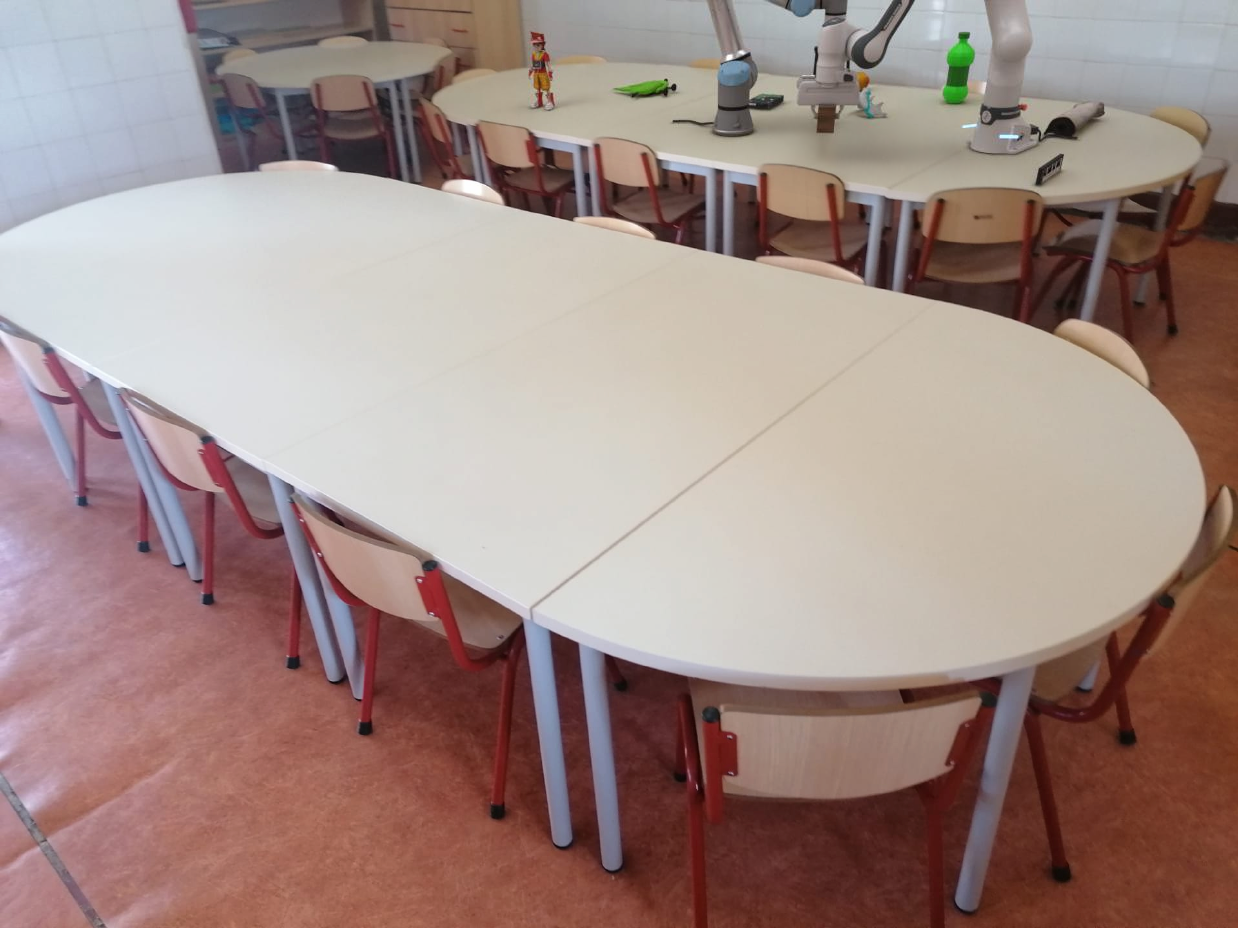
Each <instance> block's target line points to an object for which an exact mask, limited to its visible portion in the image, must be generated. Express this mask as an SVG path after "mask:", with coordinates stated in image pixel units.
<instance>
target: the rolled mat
mask: <svg viewBox="0 0 1238 928" xmlns="http://www.w3.org/2000/svg"><path fill="white" fill-rule="evenodd" d="M1105 113H1106V112H1105V104H1104V102H1102V101H1096V100H1091V101H1085V102H1079V103H1076V104H1074V105H1073V107H1072V108H1071V109H1069V110H1067V111H1065V112H1063V113H1061V114H1060V115H1058V116H1056V117H1054V118H1053V119H1051V120H1050V122H1049V123H1048V125H1047V127H1046V129H1045V130H1044V132H1043V136H1046V135H1049V134H1056V135H1062V136H1073V137H1074V135H1076V134H1077V132H1078V131H1079V130H1080V129H1081V128H1082V127H1083V126H1084V125H1086V124H1087V123H1088V122H1089V121H1090V120H1091V119H1095V118H1096V119H1097V118H1101V117H1103V116H1104V115H1105Z"/></svg>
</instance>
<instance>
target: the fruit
mask: <svg viewBox="0 0 1238 928" xmlns="http://www.w3.org/2000/svg"><path fill="white" fill-rule="evenodd" d="M856 72H857V74H858V78H857V81H858V83H859V89H860V92H862V90H863V88H867V87H868V86H869V84H870V77H869V75H868V74H867V73H865V72H863V71H856Z"/></svg>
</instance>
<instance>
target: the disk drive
mask: <svg viewBox="0 0 1238 928" xmlns="http://www.w3.org/2000/svg"><path fill="white" fill-rule="evenodd" d="M784 99H785V95H784V94H775V93H774V94H771V93H760V94H758V95H755V96H753V97H752V98H749V109H755V110H771V109H773V108H775V107H776V106H778V105H780V104H782V103H783V102H784V101H785V100H784Z"/></svg>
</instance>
